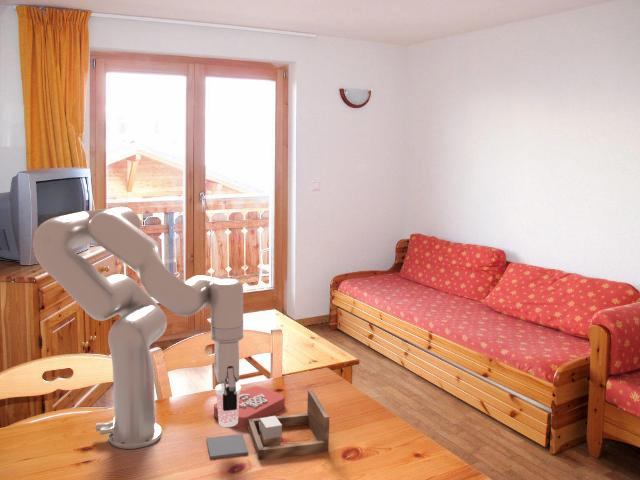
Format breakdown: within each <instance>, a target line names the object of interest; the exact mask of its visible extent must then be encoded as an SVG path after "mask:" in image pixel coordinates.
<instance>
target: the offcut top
mask: <svg viewBox="0 0 640 480" xmlns="http://www.w3.org/2000/svg"><path fill="white" fill-rule="evenodd" d="M276 416H277V415H272V416H271V415H269V416H267V417H264V418H260V431H261V432H262V434H263V435H264V437H265V438H266V439H271V438H276V437H280V438H282V437H283V427H282V424H281V423H280V422H279V420H278V419H277V418H276Z"/></svg>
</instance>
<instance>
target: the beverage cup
mask: <svg viewBox="0 0 640 480" xmlns="http://www.w3.org/2000/svg"><path fill="white" fill-rule="evenodd" d="M227 381H228V379H227ZM227 387H228V384H226V388H227ZM214 390H215V391H214V392H215V394H216V403H217V407H218V418H217V419H218V424H219V426H221V427H224V428H231V427H236V426H235V425H236V424H238V414H239V396H240V391H242V386H241V385H240V384H239V383H238V382H236V393H237V409H236V410H229V411H224V410H223V394H224V384H223V383H222V384H219V383H218V384H217V385H216V386H215V388H214Z"/></svg>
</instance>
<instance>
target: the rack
mask: <svg viewBox="0 0 640 480" xmlns="http://www.w3.org/2000/svg"><path fill="white" fill-rule="evenodd" d="M306 409H307V412H306V413H299V414H297V413H296V414H288V415H286V414H285V415H279V416H278V415H275V416H276V418H277V419H278V420H279V422H280V423H281V424H282V428H283V427H289V426H291V427H292V426H299V425H308V426H309V428H310V430H311V431H312V433H313V435H314V437H315V438H316V440H315V441H308V442H297V443H288V444H280V445H279V446H270V447H263V445H262V442H261V436H260V434H259V431H258V430H259V422H260V418H256V419H248V427H247V429H248V432H249V434H250V437H251V441H252V444H253V447H254V450H255V452H256V455H257V458H258V460H259V461H261V460H269V459H276V458H277V459H278V458H279V459H280V458H285V457H293V456H302V455H311V454H319V453H320V454H321V453H327V452H329V445H330V443H329V439H330V415H329V414H328V412H327V410H326V409H325V407H324V406H323V404H322V403H321V401H320V399H319V398H318V396H317V395H316V393H315V392H314V390H313V389H308V390H307V408H306Z"/></svg>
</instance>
